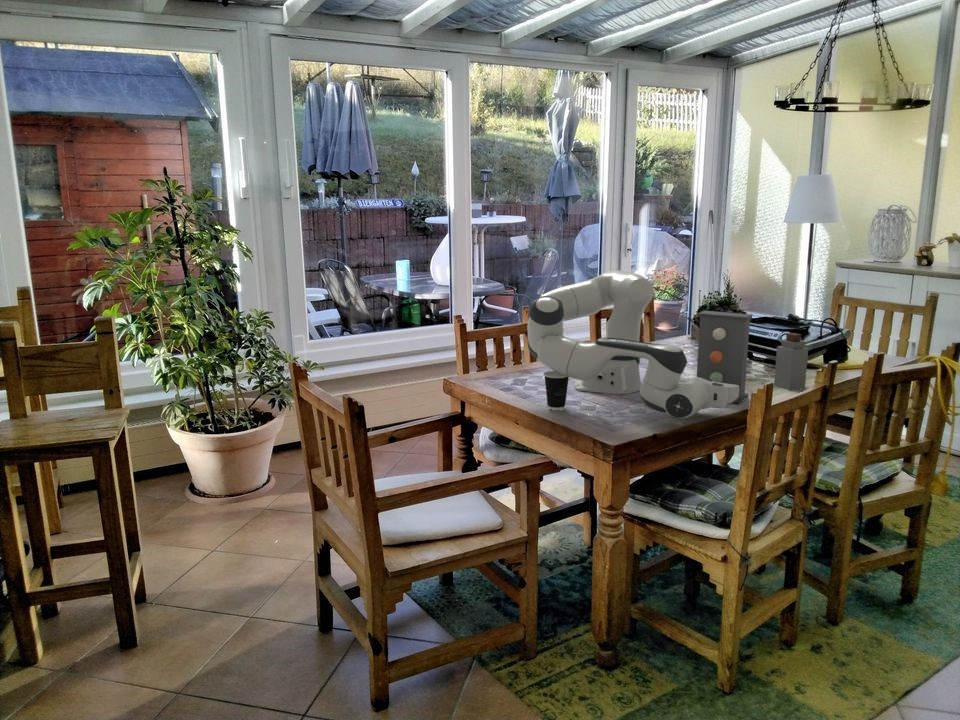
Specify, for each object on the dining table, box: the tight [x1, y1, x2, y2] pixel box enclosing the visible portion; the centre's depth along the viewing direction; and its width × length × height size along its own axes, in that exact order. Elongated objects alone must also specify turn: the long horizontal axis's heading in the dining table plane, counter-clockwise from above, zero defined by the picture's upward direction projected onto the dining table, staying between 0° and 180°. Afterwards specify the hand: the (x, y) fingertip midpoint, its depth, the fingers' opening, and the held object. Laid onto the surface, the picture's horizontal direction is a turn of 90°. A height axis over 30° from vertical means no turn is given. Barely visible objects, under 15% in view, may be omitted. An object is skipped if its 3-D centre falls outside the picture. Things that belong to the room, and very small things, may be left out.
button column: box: [696, 310, 753, 404], centre depth 231 cm, size 15×10×27 cm, turn 56°
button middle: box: [710, 351, 723, 363], centre depth 227 cm, size 4×3×4 cm
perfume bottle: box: [773, 332, 809, 391], centre depth 244 cm, size 7×7×18 cm
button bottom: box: [710, 372, 723, 383], centre depth 229 cm, size 4×3×4 cm
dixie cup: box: [543, 370, 570, 411], centre depth 224 cm, size 8×8×11 cm
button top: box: [713, 328, 726, 340], centre depth 226 cm, size 4×3×4 cm
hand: (710, 382), depth 224 cm, fingers closed
